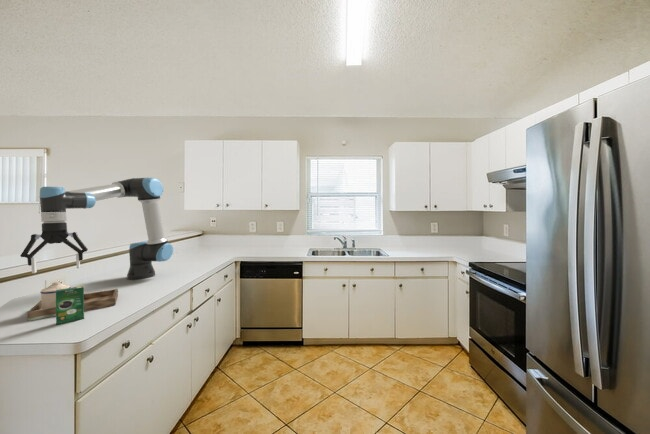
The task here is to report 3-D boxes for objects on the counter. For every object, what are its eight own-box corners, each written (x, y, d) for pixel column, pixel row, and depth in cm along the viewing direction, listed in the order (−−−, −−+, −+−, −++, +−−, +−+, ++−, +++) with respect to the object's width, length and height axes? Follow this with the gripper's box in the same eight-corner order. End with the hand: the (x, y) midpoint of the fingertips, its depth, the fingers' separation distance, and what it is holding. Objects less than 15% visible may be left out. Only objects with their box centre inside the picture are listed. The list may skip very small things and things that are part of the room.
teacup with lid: (59, 312, 108) (58, 284, 107) (34, 313, 106) (33, 286, 106) (81, 301, 119) (80, 277, 119) (59, 303, 118) (58, 278, 118)
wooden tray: (117, 295, 131) (117, 288, 131) (115, 305, 117) (114, 297, 117) (41, 308, 115) (40, 300, 115) (27, 321, 101) (27, 312, 101)
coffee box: (84, 316, 105) (83, 285, 105) (85, 318, 103) (83, 286, 103) (56, 323, 99) (54, 289, 99) (56, 325, 97) (54, 291, 97)
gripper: (6, 224, 101) (10, 276, 102) (91, 221, 116) (93, 267, 116) (14, 223, 107) (17, 273, 108) (93, 220, 122) (96, 264, 123)
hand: (57, 270), depth 112 cm, fingers open, 13 cm apart
